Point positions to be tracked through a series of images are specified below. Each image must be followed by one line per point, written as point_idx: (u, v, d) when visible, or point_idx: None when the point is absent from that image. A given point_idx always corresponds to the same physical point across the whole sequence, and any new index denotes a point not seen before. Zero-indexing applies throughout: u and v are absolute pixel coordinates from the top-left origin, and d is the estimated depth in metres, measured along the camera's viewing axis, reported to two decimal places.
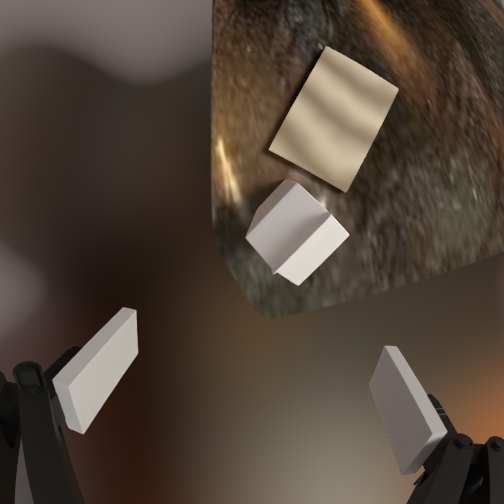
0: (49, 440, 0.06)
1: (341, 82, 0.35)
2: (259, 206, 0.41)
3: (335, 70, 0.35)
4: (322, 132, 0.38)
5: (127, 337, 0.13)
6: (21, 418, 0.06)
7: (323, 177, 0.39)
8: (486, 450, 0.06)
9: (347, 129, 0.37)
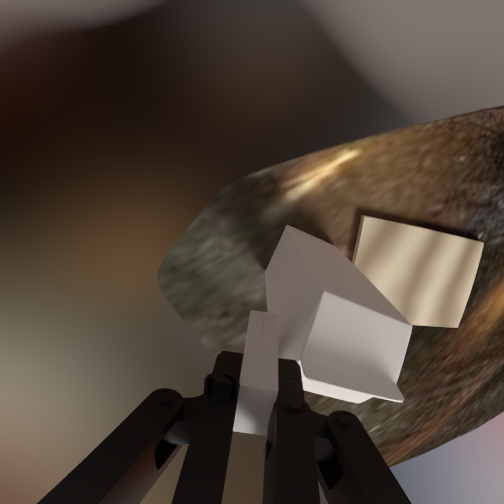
0: (220, 453, 0.07)
1: (453, 271, 0.31)
2: (292, 227, 0.32)
3: (463, 260, 0.31)
4: (399, 270, 0.32)
5: None
6: (196, 424, 0.08)
7: None
8: (330, 431, 0.09)
9: (408, 294, 0.32)
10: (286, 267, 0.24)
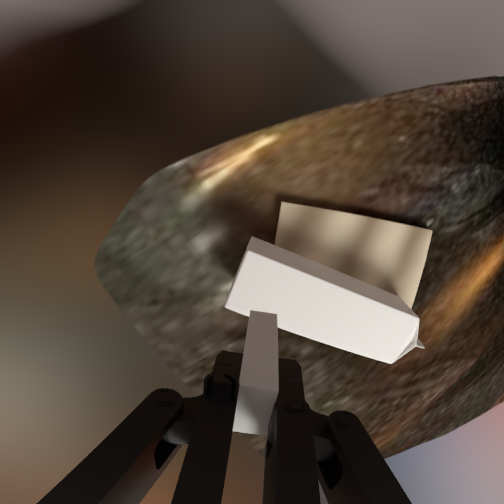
0: (219, 453, 0.07)
1: (393, 261, 0.32)
2: (255, 250, 0.27)
3: (406, 249, 0.31)
4: (325, 259, 0.32)
5: None
6: (196, 424, 0.08)
7: None
8: (331, 431, 0.09)
9: None
10: (331, 307, 0.27)
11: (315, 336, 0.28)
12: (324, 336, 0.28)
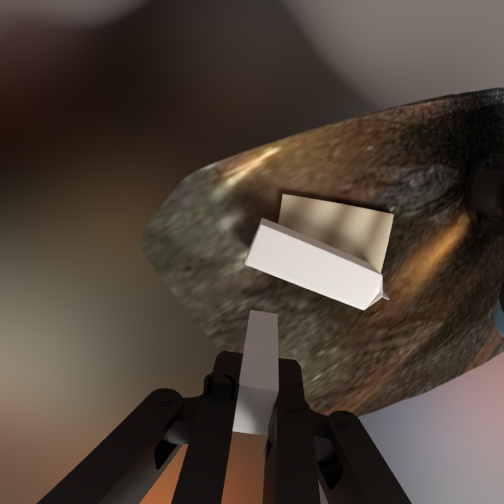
0: (220, 453, 0.07)
1: (364, 236, 0.45)
2: (265, 225, 0.40)
3: (373, 228, 0.45)
4: (314, 234, 0.46)
5: None
6: (196, 424, 0.08)
7: None
8: (331, 431, 0.09)
9: None
10: (317, 263, 0.41)
11: (307, 285, 0.41)
12: (313, 285, 0.41)
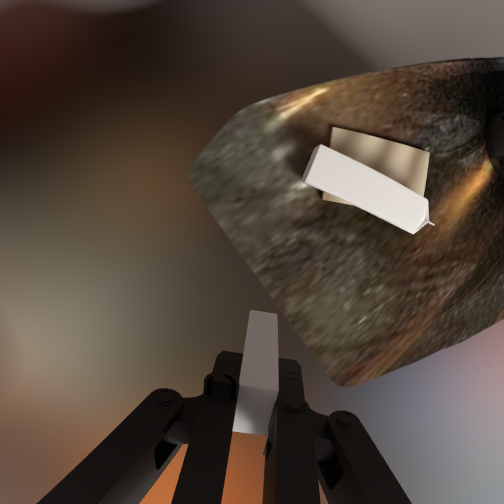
0: (219, 453, 0.07)
1: (405, 170, 0.45)
2: None
3: (413, 163, 0.44)
4: None
5: None
6: (196, 424, 0.08)
7: None
8: (331, 431, 0.09)
9: None
10: (371, 184, 0.40)
11: (363, 205, 0.41)
12: (368, 205, 0.41)
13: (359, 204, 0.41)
